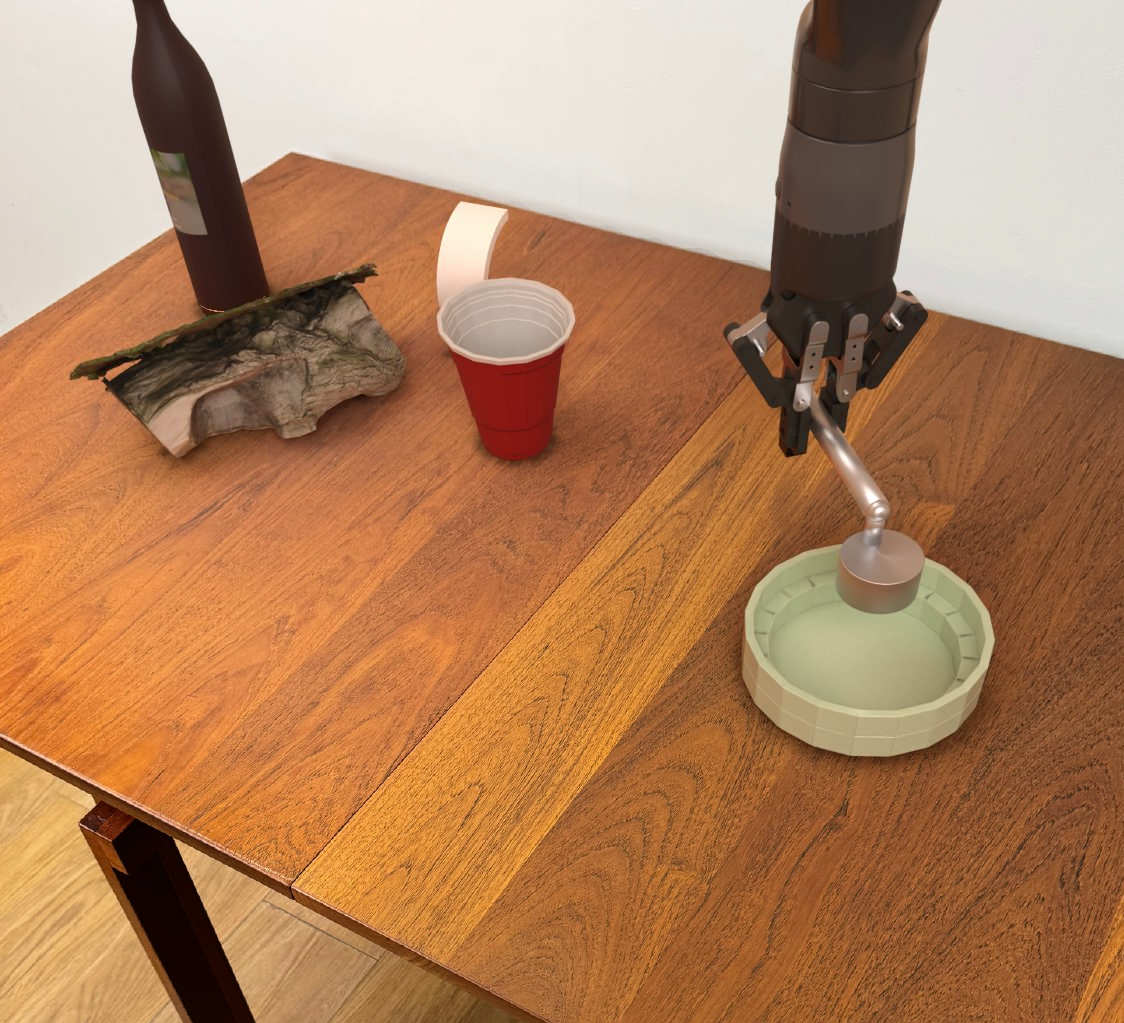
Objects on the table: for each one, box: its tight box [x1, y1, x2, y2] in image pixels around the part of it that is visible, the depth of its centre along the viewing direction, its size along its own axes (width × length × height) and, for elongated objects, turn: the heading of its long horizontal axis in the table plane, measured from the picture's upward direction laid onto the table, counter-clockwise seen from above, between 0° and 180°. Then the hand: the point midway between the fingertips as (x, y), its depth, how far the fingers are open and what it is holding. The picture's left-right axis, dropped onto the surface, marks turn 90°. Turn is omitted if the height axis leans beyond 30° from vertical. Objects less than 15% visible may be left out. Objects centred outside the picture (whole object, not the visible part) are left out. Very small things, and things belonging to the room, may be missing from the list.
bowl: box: [741, 543, 996, 758], centre depth 82 cm, size 16×16×4 cm
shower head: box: [778, 389, 926, 614], centre depth 80 cm, size 19×5×6 cm, turn 14°
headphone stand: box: [436, 201, 509, 310], centre depth 108 cm, size 5×6×12 cm
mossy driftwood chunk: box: [69, 262, 407, 460], centre depth 102 cm, size 28×13×15 cm
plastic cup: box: [436, 277, 577, 461], centre depth 98 cm, size 11×11×12 cm
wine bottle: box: [130, 0, 270, 316], centre depth 108 cm, size 7×7×30 cm
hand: (810, 443), depth 83 cm, fingers closed on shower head
